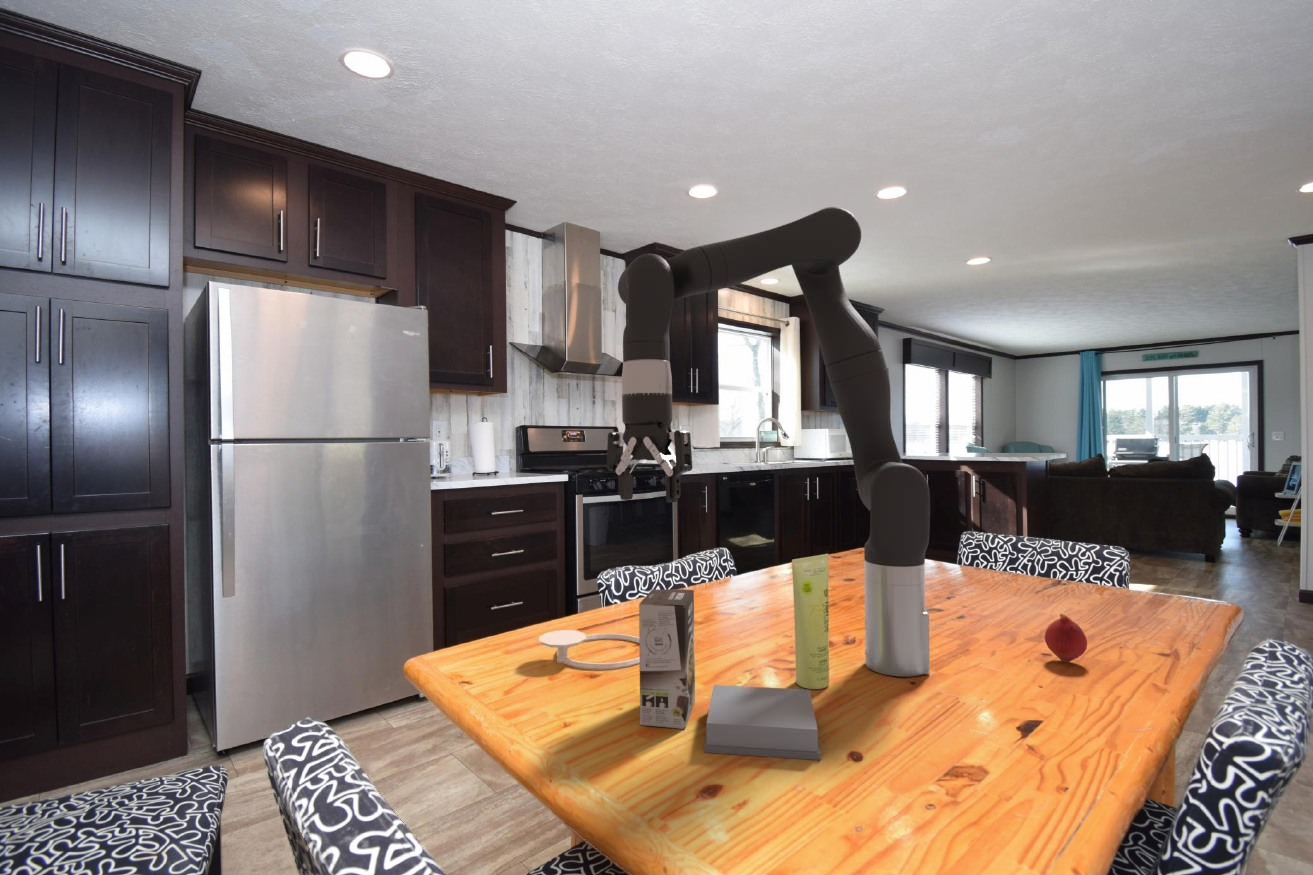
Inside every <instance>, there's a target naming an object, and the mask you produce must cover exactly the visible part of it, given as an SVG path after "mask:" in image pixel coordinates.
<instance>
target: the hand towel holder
mask: <svg viewBox="0 0 1313 875" xmlns="http://www.w3.org/2000/svg"><path fill="white" fill-rule="evenodd" d="M538 639H539V642H540V643H541V645H543V646H546V647H548V648H557V650H556V657H557V658H556V661H557V663H559V664H565V665H566V666H569V667H572V668H576V669H583V670H593V671H596V670H597V671H605V670H606V671H607V670H617V669H623V668H624V669H625V668H628V667H629V668H630V667H632V666H636V665H640V656H638V657H636V658H631V659H628V660H623V661H617V662H605V663H603V662H602V663H601V662H600V663H599V662H598V663H597V662H596V663H595V662H587V661H586V662H585V661H579V660H575V659H571V658H570V657H569V656H568V648H571V647H575V646H579V645H580V644H582V643H584V642H591V641H592V642H593V641H598V640H599V641H600V640H620V641H628V642H633V643H636V644H639V636H634V635H630V634H623V633H597V634H596V633H595V634H594V633H593V634H586V633H585V632H582V631H578V630H572V629H571V630H566V629H565V630H563V629H560V630H555V631H547V632H545V633H543V634H542V635H539V636H538Z"/></svg>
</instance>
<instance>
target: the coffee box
mask: <svg viewBox="0 0 1313 875" xmlns="http://www.w3.org/2000/svg"><path fill="white" fill-rule="evenodd" d="M638 605H639V607H638V608H639V615H638V616H639V617H638V618H639V620H638V621H639V626H638V628H639V631H638V632H639V636H638V637H639V643H638V645H639V648H638V649H639V652H638V653H639V656H638V657H640V663H639V725H641V726H646V727H648V726H651V727H661V728H670V729H671V728H672V729H681V730H684V729H686V728H687V725H688V723H689V721H690V720H689V719H690V717H691V715H692V711H693V708H694V707H695V703H696V668H695V666H696V665H695V663H696V662H695V661H696V659H695V658H696V657H695V656H696V655H695V652H696V651H695V649H696V648H695V590H694V589H683V588H682V589H671V588H670V589H668V588H667V589H654V588H652V589H651V590H650V591H649V592H648V593H647V595H646V596H644V598H643V599H641V601H640V602H639V603H638Z"/></svg>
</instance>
